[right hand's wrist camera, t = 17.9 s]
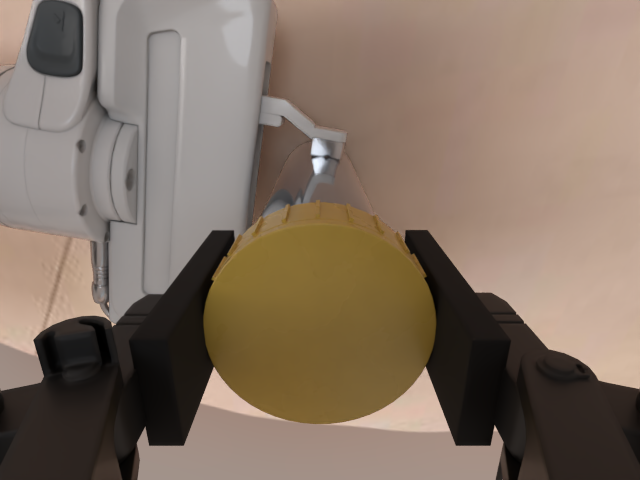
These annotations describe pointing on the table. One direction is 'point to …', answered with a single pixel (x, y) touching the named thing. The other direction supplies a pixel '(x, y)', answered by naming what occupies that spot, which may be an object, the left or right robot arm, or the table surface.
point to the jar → (316, 182)
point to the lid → (319, 314)
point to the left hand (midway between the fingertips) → (333, 201)
